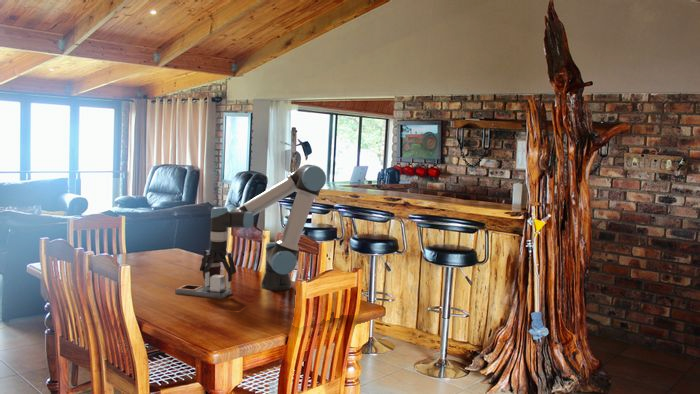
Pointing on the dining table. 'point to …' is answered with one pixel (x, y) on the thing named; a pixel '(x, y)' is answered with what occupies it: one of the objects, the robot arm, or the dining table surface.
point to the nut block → (217, 283)
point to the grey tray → (201, 291)
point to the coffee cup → (213, 268)
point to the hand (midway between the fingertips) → (217, 287)
